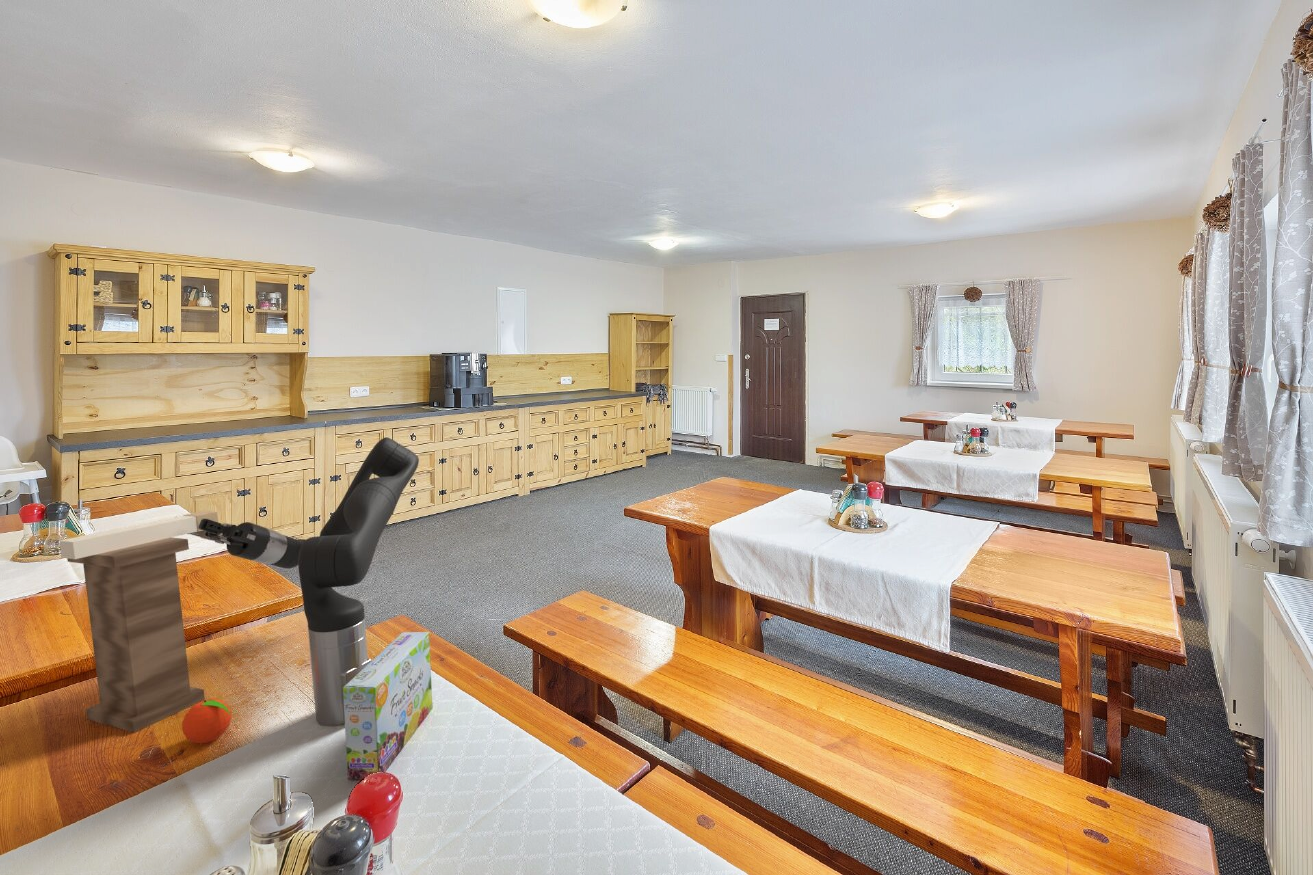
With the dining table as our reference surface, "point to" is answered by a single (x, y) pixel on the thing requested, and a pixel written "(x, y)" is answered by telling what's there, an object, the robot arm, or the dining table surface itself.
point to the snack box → (387, 704)
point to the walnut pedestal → (138, 634)
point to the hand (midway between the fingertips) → (187, 522)
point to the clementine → (206, 721)
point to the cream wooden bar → (133, 535)
